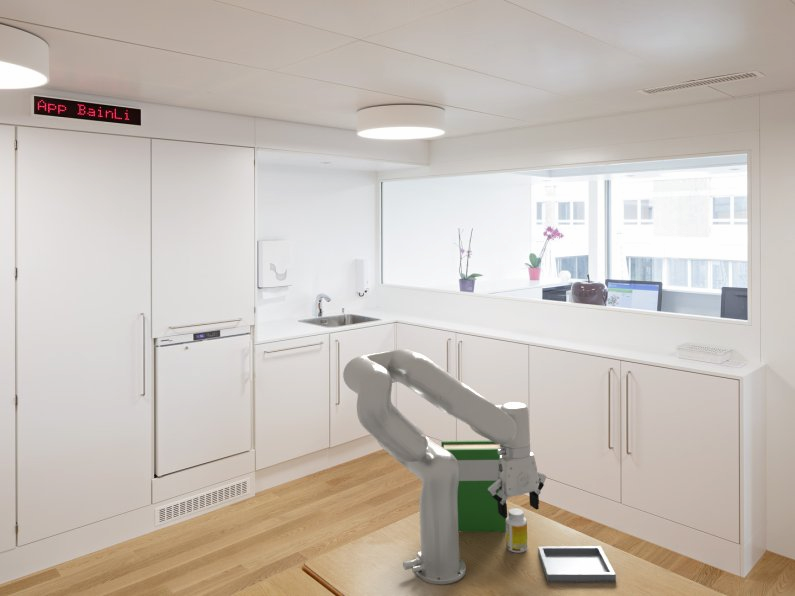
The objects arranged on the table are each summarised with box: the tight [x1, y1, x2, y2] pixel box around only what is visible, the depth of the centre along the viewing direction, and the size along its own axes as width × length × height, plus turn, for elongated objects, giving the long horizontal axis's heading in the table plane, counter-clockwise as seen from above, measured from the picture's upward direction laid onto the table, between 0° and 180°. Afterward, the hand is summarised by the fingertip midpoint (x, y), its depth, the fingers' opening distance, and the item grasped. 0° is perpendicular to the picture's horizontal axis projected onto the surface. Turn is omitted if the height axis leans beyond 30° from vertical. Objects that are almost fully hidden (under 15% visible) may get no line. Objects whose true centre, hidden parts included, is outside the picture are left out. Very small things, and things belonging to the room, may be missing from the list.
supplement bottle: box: [505, 507, 528, 554], centre depth 157 cm, size 6×6×10 cm
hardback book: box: [440, 439, 507, 533], centre depth 170 cm, size 18×7×24 cm, turn 86°
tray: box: [537, 545, 617, 583], centre depth 148 cm, size 16×13×2 cm
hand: (518, 511), depth 157 cm, fingers open, 9 cm apart
